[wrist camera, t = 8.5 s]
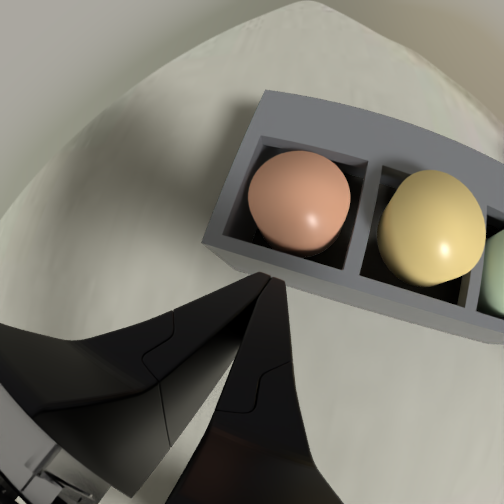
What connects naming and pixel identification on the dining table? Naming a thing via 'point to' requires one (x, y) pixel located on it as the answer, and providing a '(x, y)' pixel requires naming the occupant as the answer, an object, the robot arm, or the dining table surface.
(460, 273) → the button ochre
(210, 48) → the dining table surface
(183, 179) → the dining table surface
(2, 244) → the dining table surface
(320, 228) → the button terracotta
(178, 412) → the robot arm
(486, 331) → the grey compartment box
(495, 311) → the button sage
